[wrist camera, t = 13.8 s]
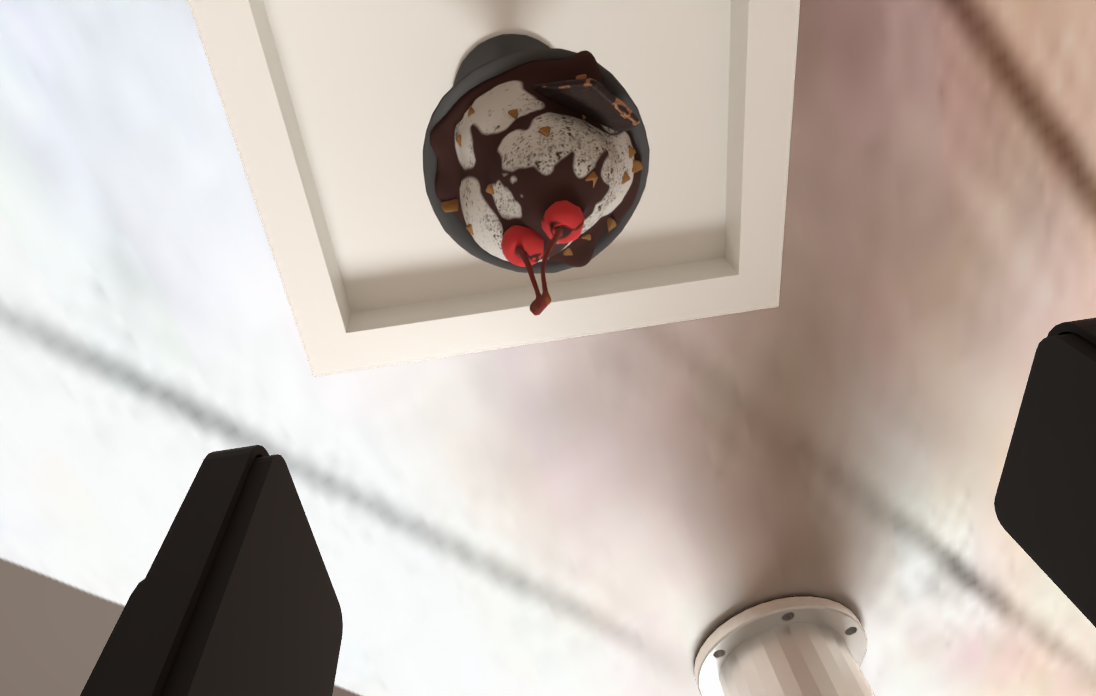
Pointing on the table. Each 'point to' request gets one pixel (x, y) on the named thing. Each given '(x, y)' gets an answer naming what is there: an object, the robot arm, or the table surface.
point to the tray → (399, 187)
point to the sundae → (534, 158)
